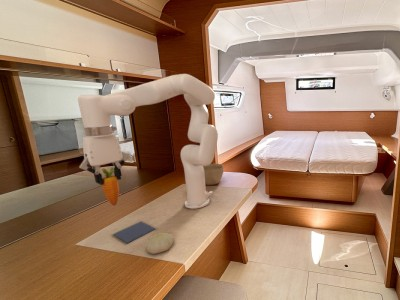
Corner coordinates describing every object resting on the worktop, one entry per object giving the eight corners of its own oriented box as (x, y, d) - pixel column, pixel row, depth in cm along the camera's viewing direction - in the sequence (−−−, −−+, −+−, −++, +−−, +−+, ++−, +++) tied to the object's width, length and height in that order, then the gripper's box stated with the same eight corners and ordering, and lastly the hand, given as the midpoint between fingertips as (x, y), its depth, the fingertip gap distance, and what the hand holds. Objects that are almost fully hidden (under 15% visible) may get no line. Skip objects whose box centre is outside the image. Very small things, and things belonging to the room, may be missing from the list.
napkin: (140, 222, 98) (140, 221, 97) (155, 229, 92) (155, 228, 92) (113, 234, 88) (113, 234, 88) (127, 243, 83) (127, 242, 83)
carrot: (120, 201, 84) (112, 164, 81) (124, 204, 81) (116, 166, 78) (104, 206, 81) (96, 167, 77) (108, 210, 78) (100, 170, 74)
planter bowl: (208, 177, 155) (207, 162, 152) (228, 179, 150) (227, 164, 147) (194, 185, 140) (192, 169, 137) (216, 188, 135) (215, 171, 132)
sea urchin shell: (158, 232, 86) (167, 222, 83) (171, 248, 85) (180, 238, 82) (137, 246, 78) (146, 236, 74) (151, 264, 77) (161, 254, 74)
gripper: (121, 128, 84) (129, 172, 88) (63, 134, 70) (76, 187, 74) (131, 129, 80) (139, 176, 84) (71, 136, 66) (84, 192, 70)
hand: (109, 180), depth 79 cm, fingers closed on carrot, 5 cm apart
